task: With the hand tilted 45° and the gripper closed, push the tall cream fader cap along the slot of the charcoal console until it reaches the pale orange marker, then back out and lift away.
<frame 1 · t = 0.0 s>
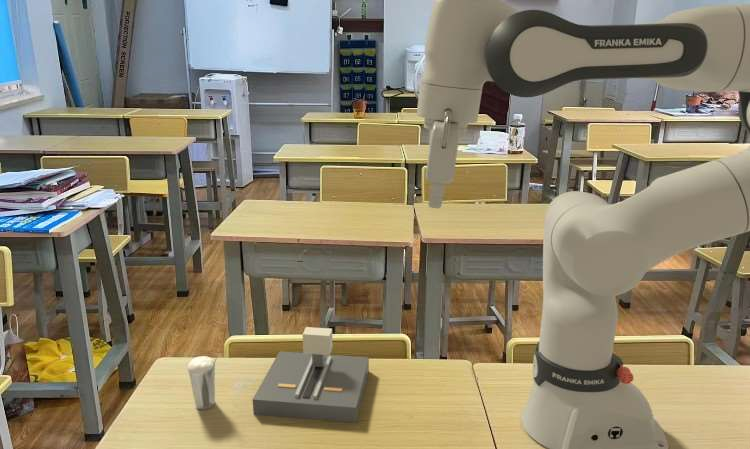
hand: (435, 198, 83), 39 cm above the table, tool pointing down, fingers open, 8 cm apart
fader tab: (318, 348, 102), point 7 cm above the table, slide at 1.0 cm
fader console: (314, 391, 101), on the table
milkshake: (207, 405, 97), on the table
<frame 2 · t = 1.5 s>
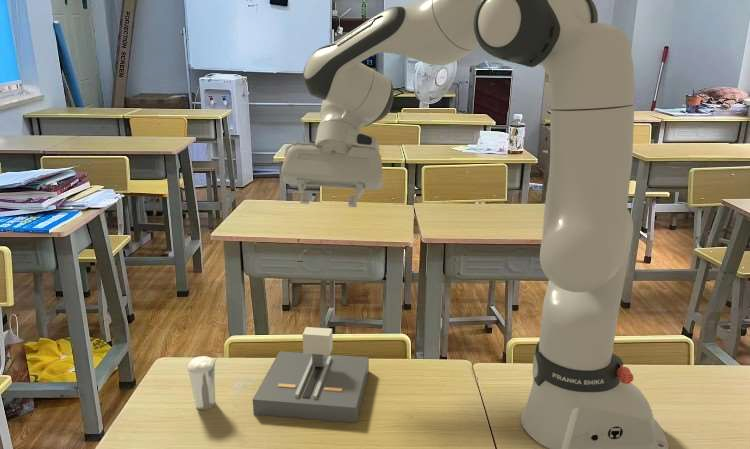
hand: (328, 204, 106), 32 cm above the table, tool tilted 45°, fingers open, 8 cm apart
nothing on the table moved.
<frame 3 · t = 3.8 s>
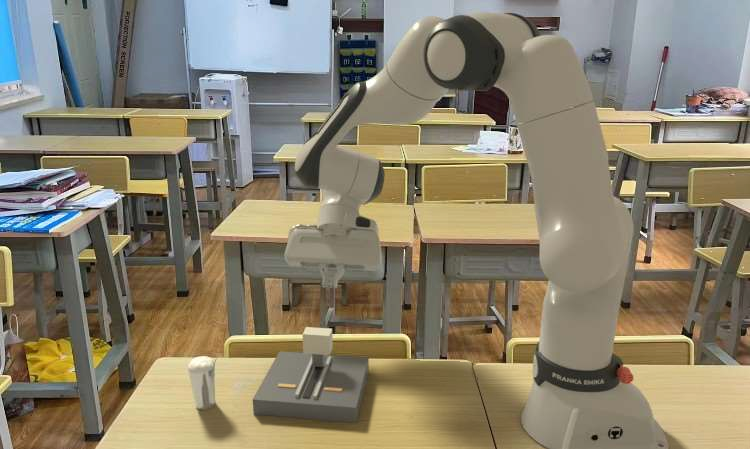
hand: (329, 286, 110), 15 cm above the table, tool tilted 45°, fingers closed
nothing on the table moved.
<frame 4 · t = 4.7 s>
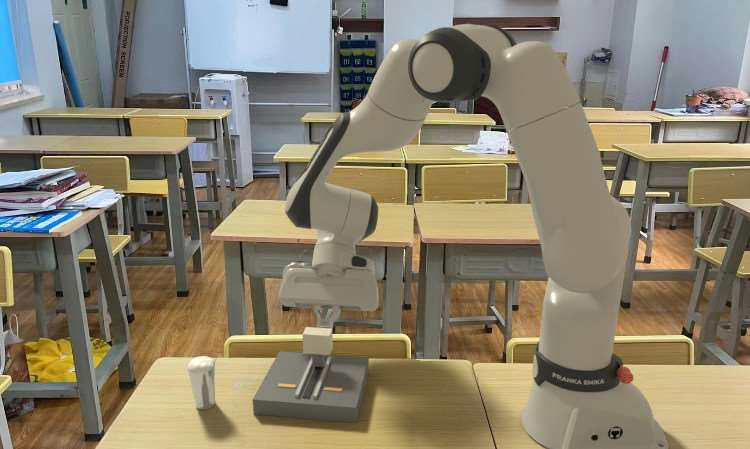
hand: (324, 329, 108), 8 cm above the table, tool tilted 45°, fingers closed
nothing on the table moved.
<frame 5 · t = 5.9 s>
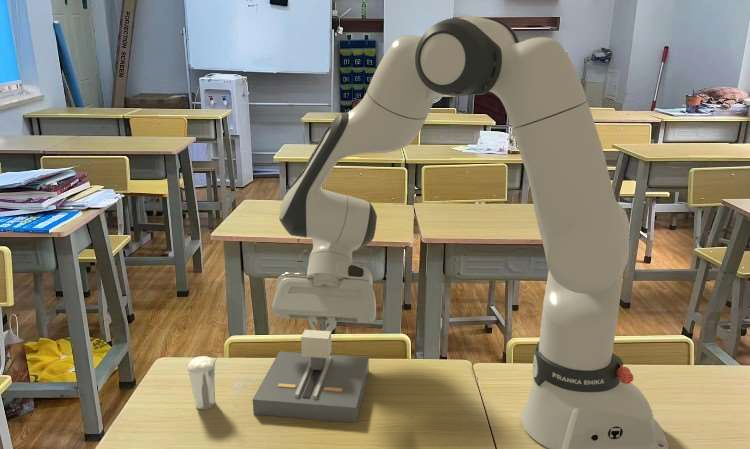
hand: (319, 341, 103), 8 cm above the table, tool tilted 45°, fingers closed, pressing on fader tab
fader tab: (316, 350, 101), point 7 cm above the table, slide at 2.1 cm, touching gripper
everything else where it was.
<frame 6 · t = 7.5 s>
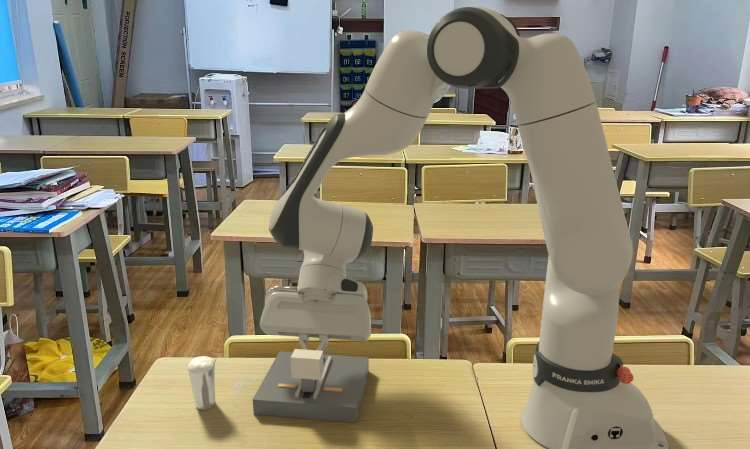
hand: (310, 361, 96), 8 cm above the table, tool tilted 45°, fingers closed, pressing on fader tab
fader tab: (307, 371, 95), point 7 cm above the table, slide at 9.1 cm, touching gripper
everything else where it was.
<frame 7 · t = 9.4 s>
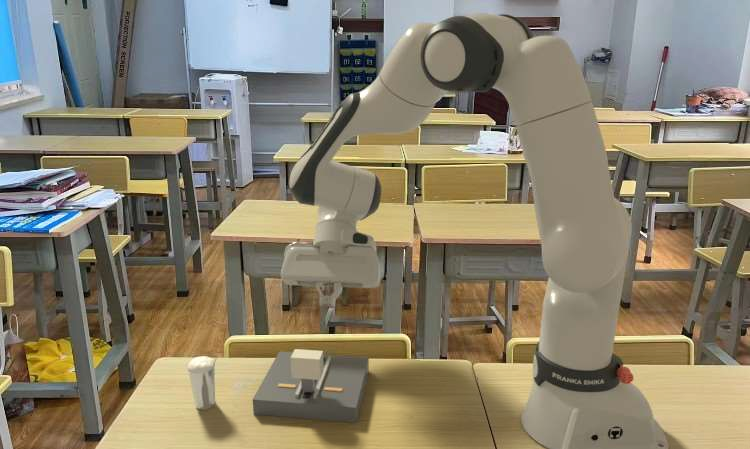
hand: (326, 305, 108), 12 cm above the table, tool tilted 45°, fingers closed
fader tab: (307, 371, 95), point 7 cm above the table, slide at 9.1 cm
everything else where it was.
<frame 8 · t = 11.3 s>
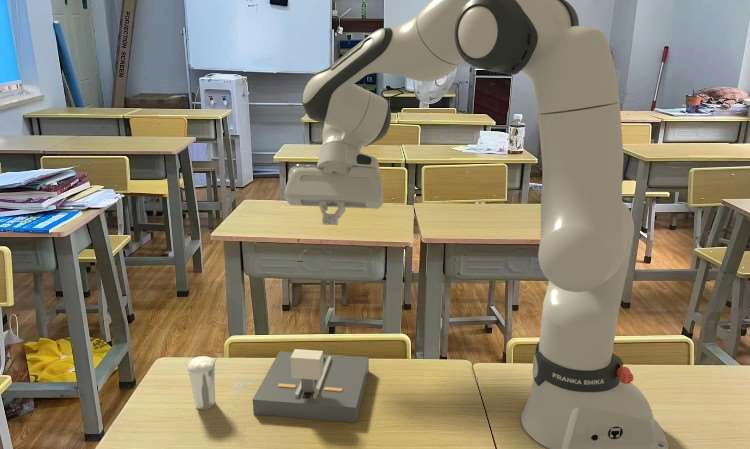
hand: (329, 223, 109), 27 cm above the table, tool tilted 45°, fingers closed
nothing on the table moved.
at the end: fader tab slide at 9.1 cm; milkshake moved 0.2 cm from its start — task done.
